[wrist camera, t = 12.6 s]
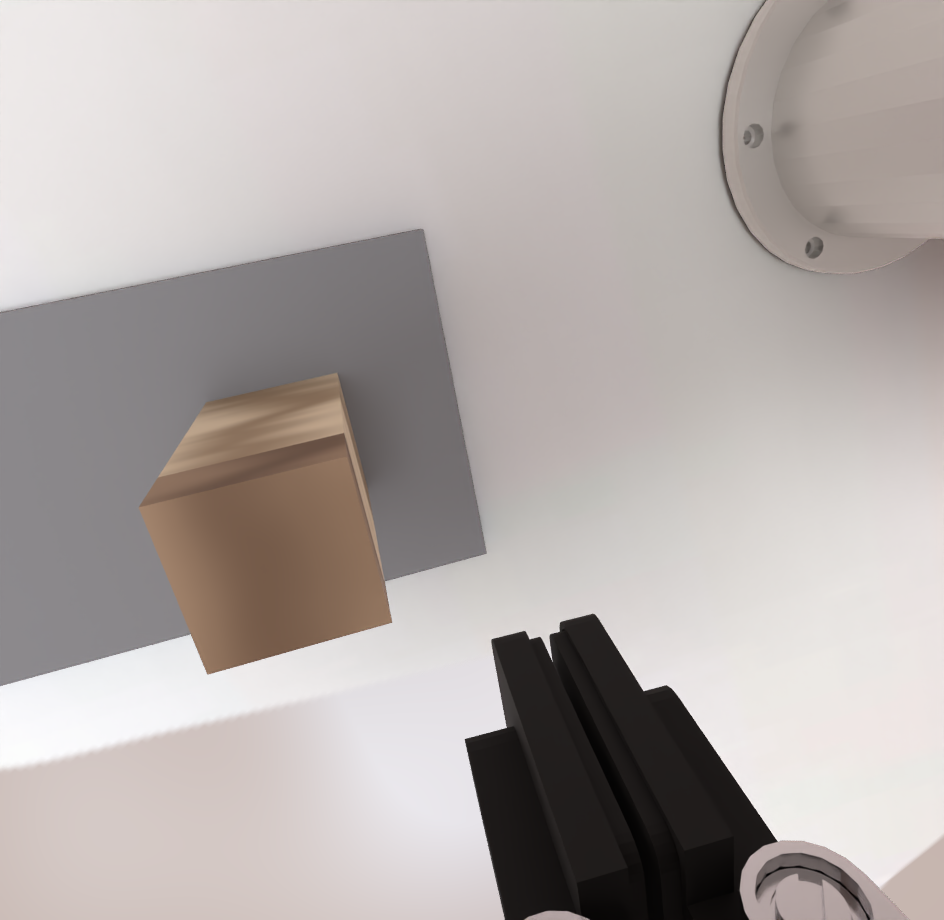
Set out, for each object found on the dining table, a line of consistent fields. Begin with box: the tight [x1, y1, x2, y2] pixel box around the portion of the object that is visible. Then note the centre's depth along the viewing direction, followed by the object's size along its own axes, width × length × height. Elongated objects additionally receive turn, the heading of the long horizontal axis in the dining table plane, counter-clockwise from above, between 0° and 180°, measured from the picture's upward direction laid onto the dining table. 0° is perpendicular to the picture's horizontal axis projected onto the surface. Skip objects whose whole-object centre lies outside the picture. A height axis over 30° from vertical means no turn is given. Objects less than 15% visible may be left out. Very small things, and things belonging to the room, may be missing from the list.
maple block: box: [139, 373, 392, 674], centre depth 21 cm, size 5×5×10 cm
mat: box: [0, 229, 487, 686], centre depth 26 cm, size 22×14×1 cm, turn 101°
